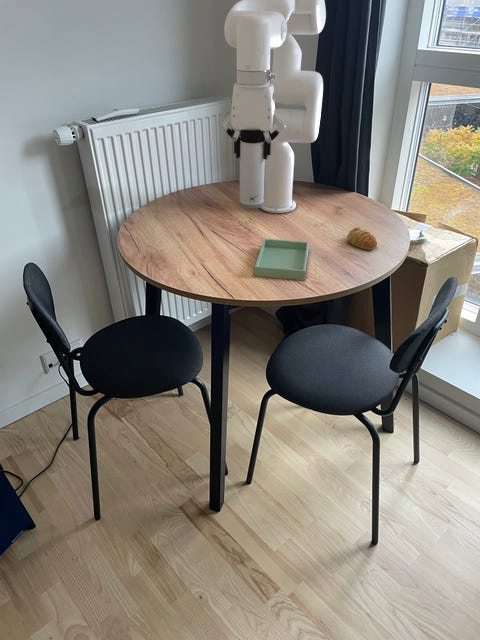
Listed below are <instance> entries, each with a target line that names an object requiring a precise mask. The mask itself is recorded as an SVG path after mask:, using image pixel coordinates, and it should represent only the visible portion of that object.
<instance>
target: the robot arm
mask: <svg viewBox="0 0 480 640" xmlns="http://www.w3.org/2000/svg"><path fill="white" fill-rule="evenodd" d="M326 10H327V9H326V1H325V0H239V1H237V2H235V4H234V5H232V7H231V8H230V10H229V11H228V12H227V15H226V18H225V21H224V27H223V34H224V38H225V41H226V43H227V45H229V46H230V47H231V48H234V49H236V82H235V83H234V84H233V90H232V97H231V109H230V111H231V112H230V114H228V115H227V116H226V117H225V118H224V120H223V121H221V123H220V127H222V129H223V130H224V131H225V132H226V134H227V135H228V137H230V138H231V140H232V141H233V153H234V154H235V158H236V159H240V137H241V136H240V132H241V130H244V131H256V130H261V131H264V132H263V134H264V136H265V143H264V159H265V167H264V198H263V206H262V207H260V209H261V210H262V211H264V212H267V213H272V214H285V213H289V212H292V211H294V210H296V207H297V203H296V201H295V200H293V187H294V186H293V184H294V183H293V182H294V170H295V169H294V167H295V153H294V151H293V148H292V147H291V145H290V144H289V143H297V144H310V143H314V142H315V141H316V140H317V138H318V135H319V131H320V130H319V129H320V122H321V113H322V105H323V104H322V103H323V93H324V79H323V76H322V75H321V73H320V72H317V71H314V70H301V66H302V58H303V57H302V55H303V53H302V49H301V47H300V45H299V43H298V42H297V40H296V39H295V38H294V36H293V35H299V36H300V35H301V36H302V35H303V36H304V35H306V36H309V35H310V36H315V35H318V34H320V33H321V32H322V31H323V30H324V27H325V24H326V19H327V11H326ZM271 50H272V53H273V54H272V55H273V56H272V57H273V58H272V69H271ZM276 104H280V105H291V106H303V107H305V109H293V108H276ZM230 124H231V126H230Z"/></svg>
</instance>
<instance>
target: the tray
mask: <svg viewBox="0 0 480 640" xmlns="http://www.w3.org/2000/svg"><path fill="white" fill-rule="evenodd" d="M309 248H310V241H303V240H302V241H301V240H287V239H275V238H263V240H262V243H261V246H260V249H259V252H258V256H257V259H256V262H255V265H254V277H261V278H262V277H263V278H273V279H285V280H296V281H305V278H306V271H307V264H308V257H309Z"/></svg>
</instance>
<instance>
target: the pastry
mask: <svg viewBox="0 0 480 640" xmlns="http://www.w3.org/2000/svg"><path fill="white" fill-rule="evenodd" d="M346 239H347V241H348V242H349V243H350V244H351V245H353V246H354V247H355V246H356V247H357V248H359V249H362V250H367V251H370V250H373V249H375V248H377V246H378V244H379V243H378V241H377V238H375V237H374V235H373V234H372V233H371V231H368V229H362V228H361V227H354V228H352V229H351V230H349V232H348V233H347V235H346Z"/></svg>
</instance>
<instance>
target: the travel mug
mask: <svg viewBox="0 0 480 640" xmlns="http://www.w3.org/2000/svg"><path fill="white" fill-rule="evenodd" d="M263 132H264V131H261V130H256V131H244V130H241V132H240V157H239V205H240V207H242V208H244V209H249V210H256V209H259V208H260V207H262V206H263V199H264V182H265V159H264V143H265V136H264V134H263ZM260 209H261V208H260Z"/></svg>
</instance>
